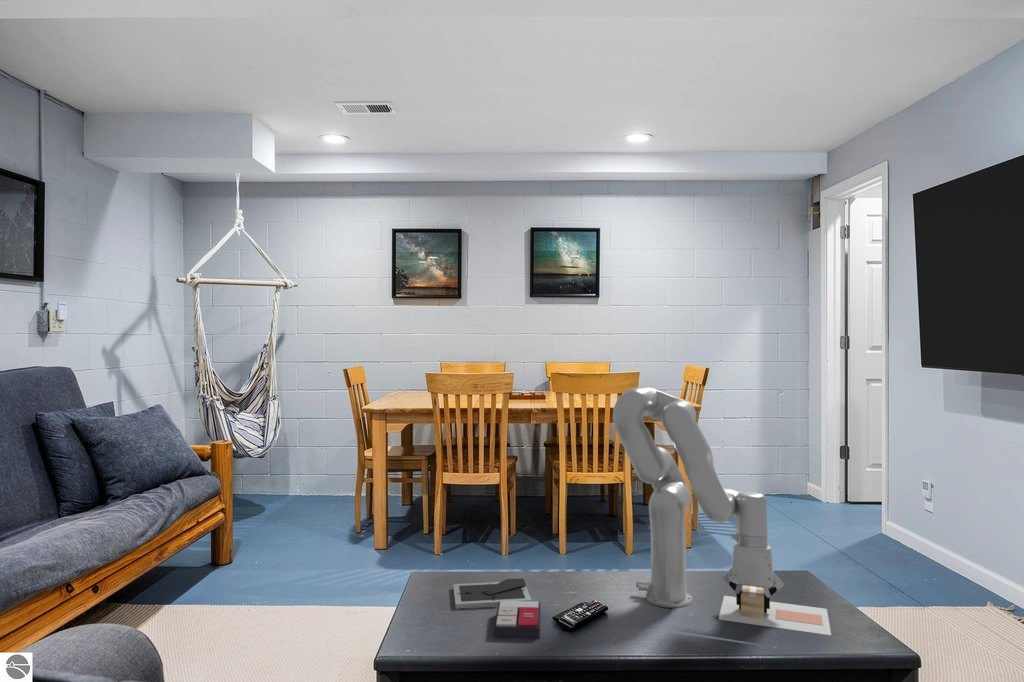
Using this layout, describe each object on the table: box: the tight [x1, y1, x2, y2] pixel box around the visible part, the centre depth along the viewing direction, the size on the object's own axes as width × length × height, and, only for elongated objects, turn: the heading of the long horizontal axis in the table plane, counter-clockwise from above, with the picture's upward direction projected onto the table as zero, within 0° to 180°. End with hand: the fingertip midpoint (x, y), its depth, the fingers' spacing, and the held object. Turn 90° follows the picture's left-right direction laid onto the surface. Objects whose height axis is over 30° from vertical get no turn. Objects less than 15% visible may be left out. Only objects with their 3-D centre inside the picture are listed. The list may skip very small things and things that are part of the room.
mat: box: [718, 595, 832, 636], centre depth 170 cm, size 26×18×1 cm
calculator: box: [493, 600, 541, 640], centre depth 164 cm, size 11×4×15 cm
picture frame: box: [452, 577, 533, 610], centre depth 185 cm, size 16×3×21 cm
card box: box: [741, 585, 765, 619], centre depth 172 cm, size 9×6×5 cm, turn 158°
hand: (753, 608), depth 172 cm, fingers closed on card box, 5 cm apart
